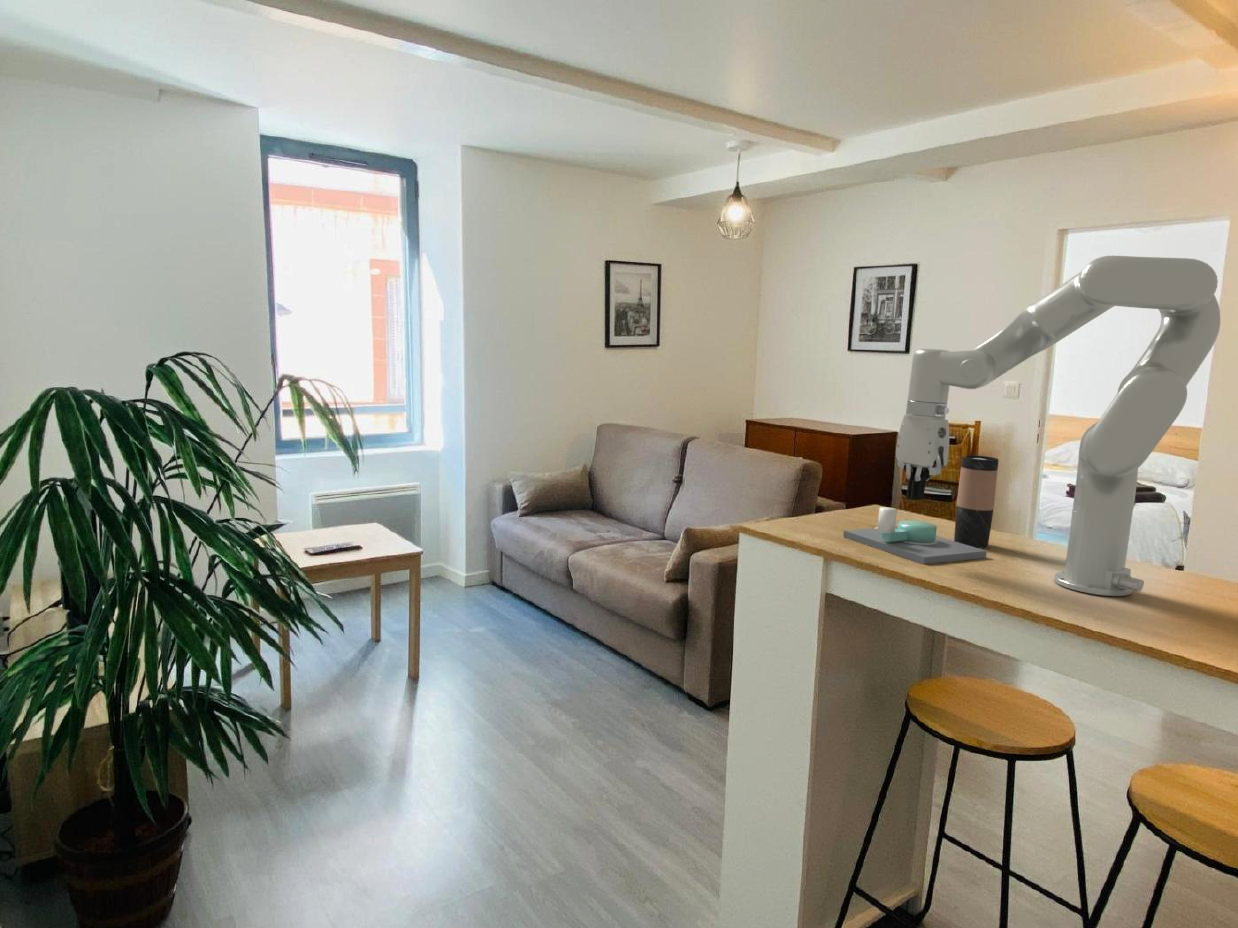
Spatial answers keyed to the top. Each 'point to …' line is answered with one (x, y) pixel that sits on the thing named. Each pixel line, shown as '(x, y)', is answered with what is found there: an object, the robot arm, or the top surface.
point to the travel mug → (975, 500)
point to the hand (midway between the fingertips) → (914, 498)
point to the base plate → (917, 547)
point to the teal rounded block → (904, 528)
